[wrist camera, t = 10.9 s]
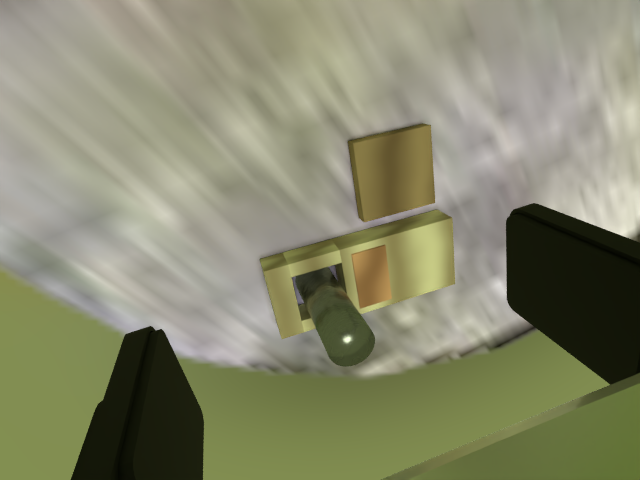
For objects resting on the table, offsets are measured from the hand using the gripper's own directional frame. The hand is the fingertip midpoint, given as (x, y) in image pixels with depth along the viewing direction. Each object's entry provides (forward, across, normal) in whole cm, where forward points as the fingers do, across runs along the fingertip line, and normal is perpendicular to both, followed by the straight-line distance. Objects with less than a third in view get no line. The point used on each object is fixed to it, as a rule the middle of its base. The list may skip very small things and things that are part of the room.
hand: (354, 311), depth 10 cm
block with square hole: (+28, -8, +15) cm, 33 cm away
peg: (+28, -2, +15) cm, 32 cm away
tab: (+28, -13, +6) cm, 32 cm away
